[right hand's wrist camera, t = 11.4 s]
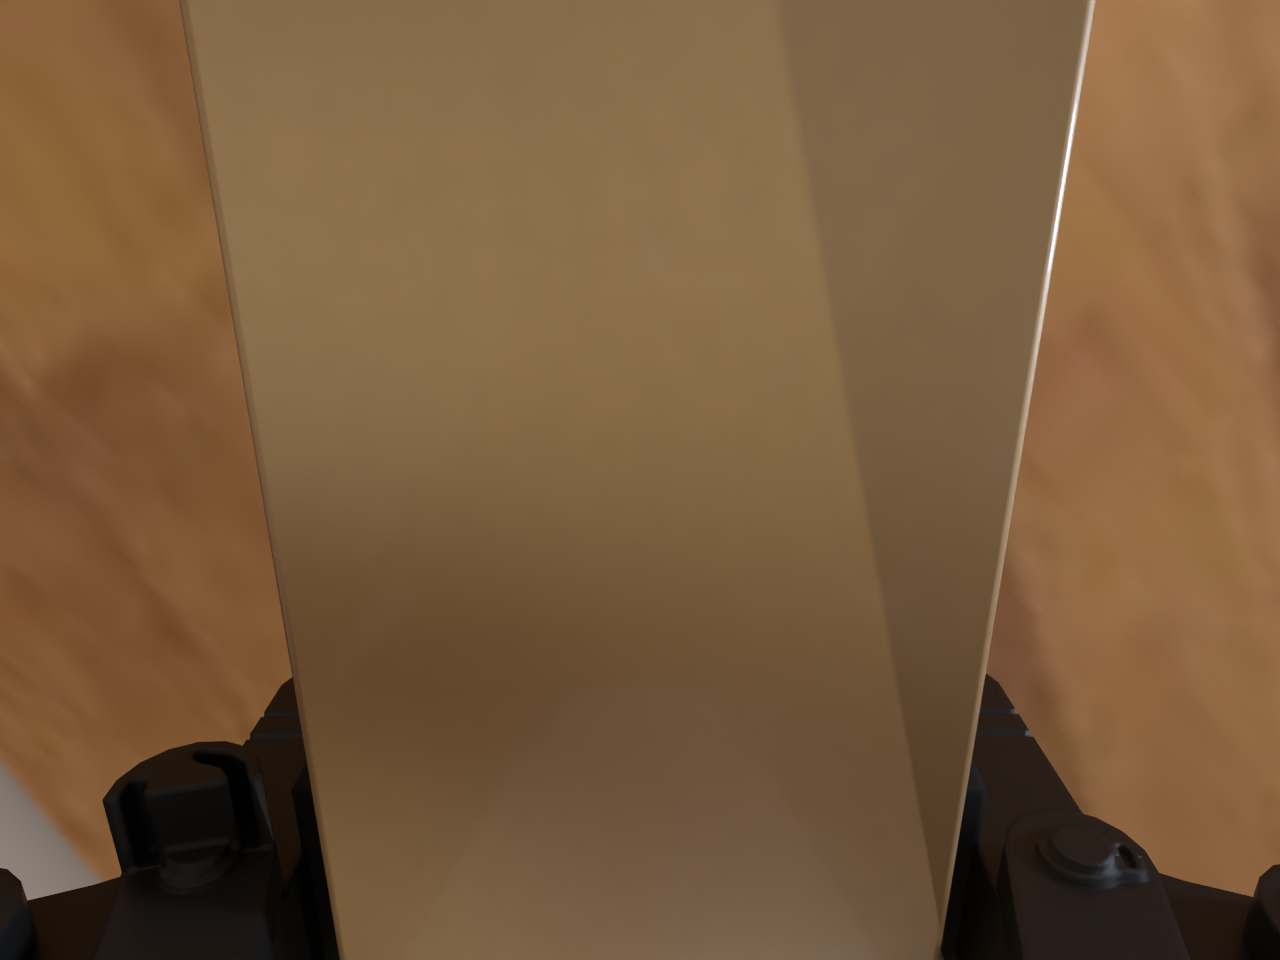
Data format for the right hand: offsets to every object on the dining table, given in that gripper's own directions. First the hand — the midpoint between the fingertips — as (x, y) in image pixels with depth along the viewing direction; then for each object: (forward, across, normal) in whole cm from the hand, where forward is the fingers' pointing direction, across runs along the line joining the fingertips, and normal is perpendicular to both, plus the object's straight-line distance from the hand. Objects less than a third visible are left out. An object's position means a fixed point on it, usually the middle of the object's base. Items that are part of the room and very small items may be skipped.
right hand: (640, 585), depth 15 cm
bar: (+1, 0, -26) cm, 26 cm away
